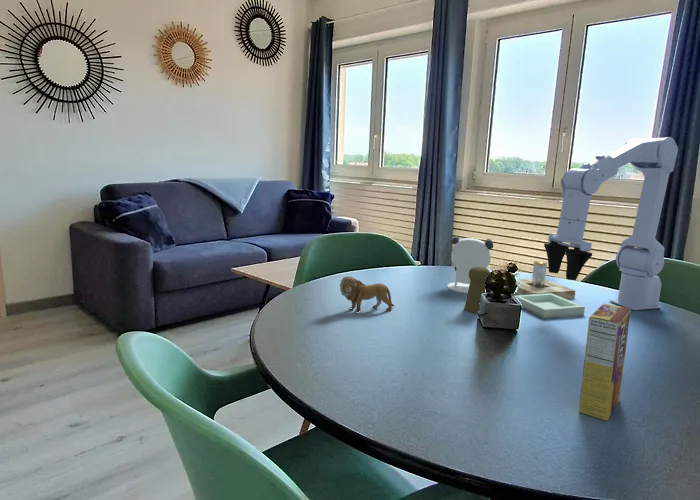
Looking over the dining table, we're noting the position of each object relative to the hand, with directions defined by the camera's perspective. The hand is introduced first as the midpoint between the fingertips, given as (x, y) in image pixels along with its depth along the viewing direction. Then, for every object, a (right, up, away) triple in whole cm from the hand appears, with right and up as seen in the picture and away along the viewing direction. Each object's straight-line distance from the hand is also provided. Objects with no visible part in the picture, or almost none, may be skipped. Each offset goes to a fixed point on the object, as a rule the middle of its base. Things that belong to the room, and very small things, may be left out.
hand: (561, 276), depth 112 cm
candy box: (-12, -18, -39) cm, 45 cm away
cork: (-19, -9, +6) cm, 22 cm away
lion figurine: (-47, -9, +2) cm, 48 cm away
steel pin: (+4, -6, +24) cm, 25 cm away
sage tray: (0, -9, +9) cm, 12 cm away
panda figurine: (-16, -5, +26) cm, 31 cm away
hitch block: (+4, -6, +24) cm, 25 cm away
